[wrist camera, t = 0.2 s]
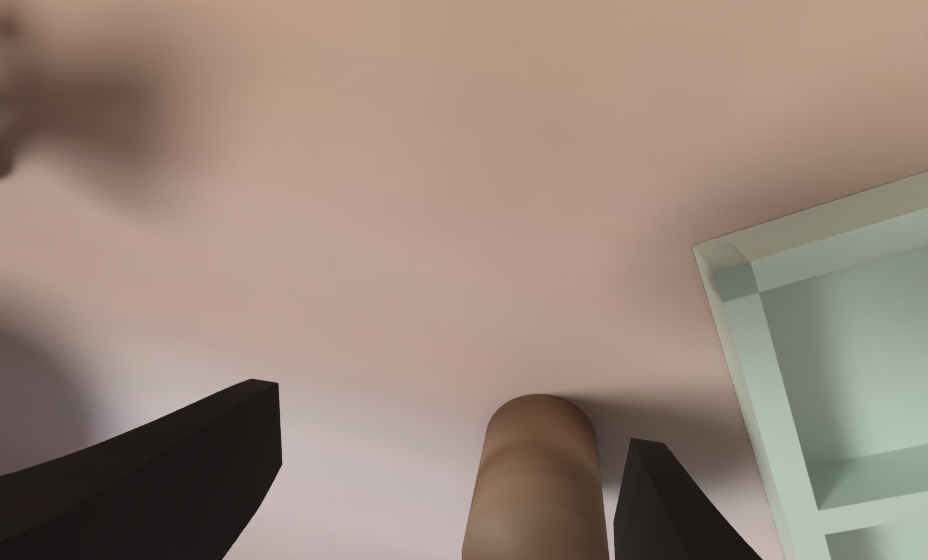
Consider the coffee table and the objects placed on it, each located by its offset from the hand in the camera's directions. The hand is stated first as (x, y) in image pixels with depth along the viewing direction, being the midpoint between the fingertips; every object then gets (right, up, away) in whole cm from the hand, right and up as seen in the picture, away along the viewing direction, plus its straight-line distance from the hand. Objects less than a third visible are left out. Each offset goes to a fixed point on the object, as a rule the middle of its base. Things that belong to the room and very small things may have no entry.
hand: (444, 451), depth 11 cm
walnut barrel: (+3, -3, +11) cm, 12 cm away
